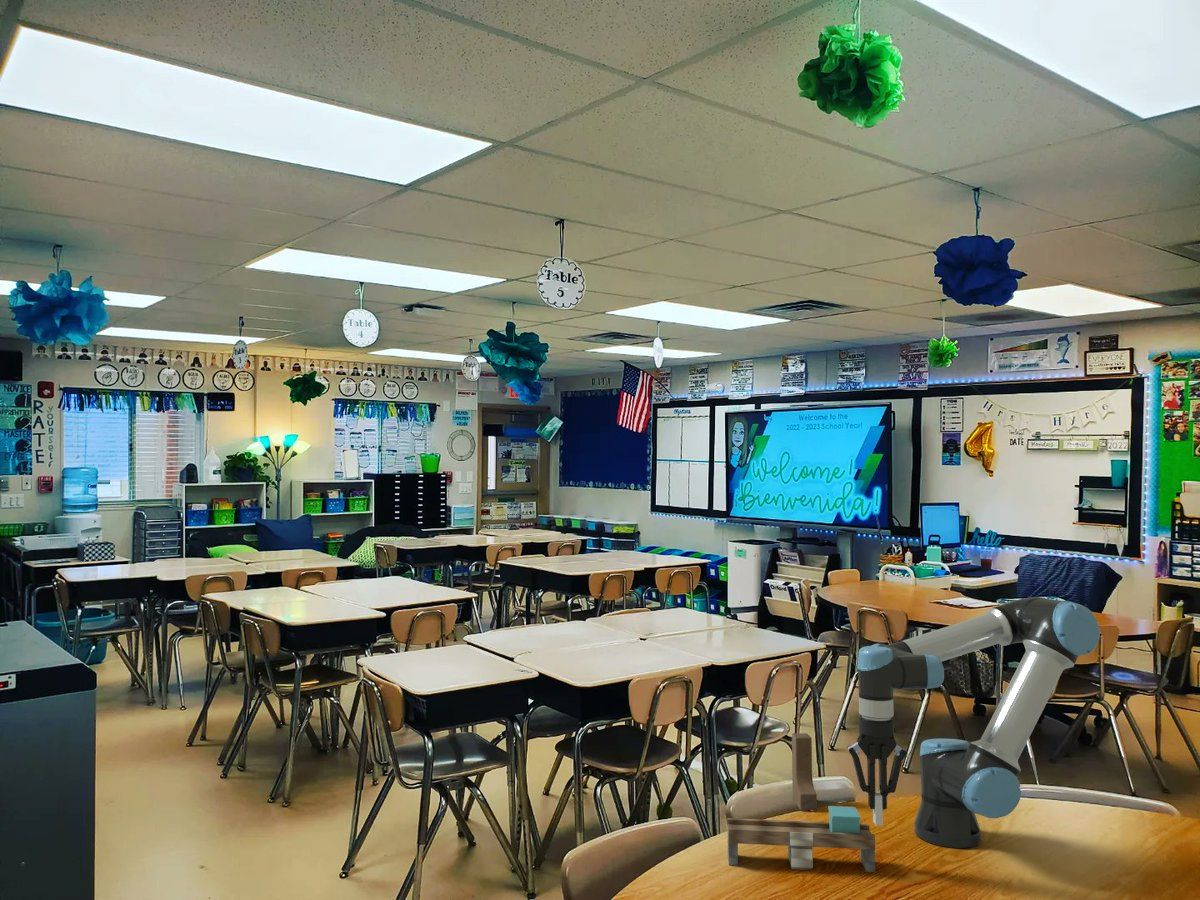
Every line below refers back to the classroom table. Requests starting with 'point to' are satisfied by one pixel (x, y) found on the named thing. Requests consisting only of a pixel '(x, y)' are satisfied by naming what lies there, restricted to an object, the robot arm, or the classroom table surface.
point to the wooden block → (803, 772)
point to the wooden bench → (798, 839)
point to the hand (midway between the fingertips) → (877, 823)
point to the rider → (844, 819)
